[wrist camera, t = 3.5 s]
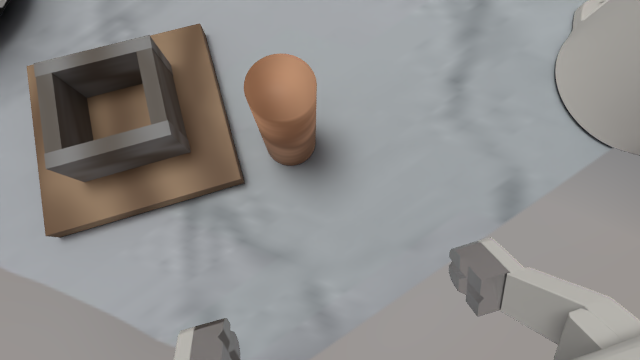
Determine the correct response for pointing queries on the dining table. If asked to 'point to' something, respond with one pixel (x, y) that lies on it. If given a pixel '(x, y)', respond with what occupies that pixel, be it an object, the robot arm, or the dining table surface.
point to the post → (284, 106)
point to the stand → (129, 130)
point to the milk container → (3, 5)
